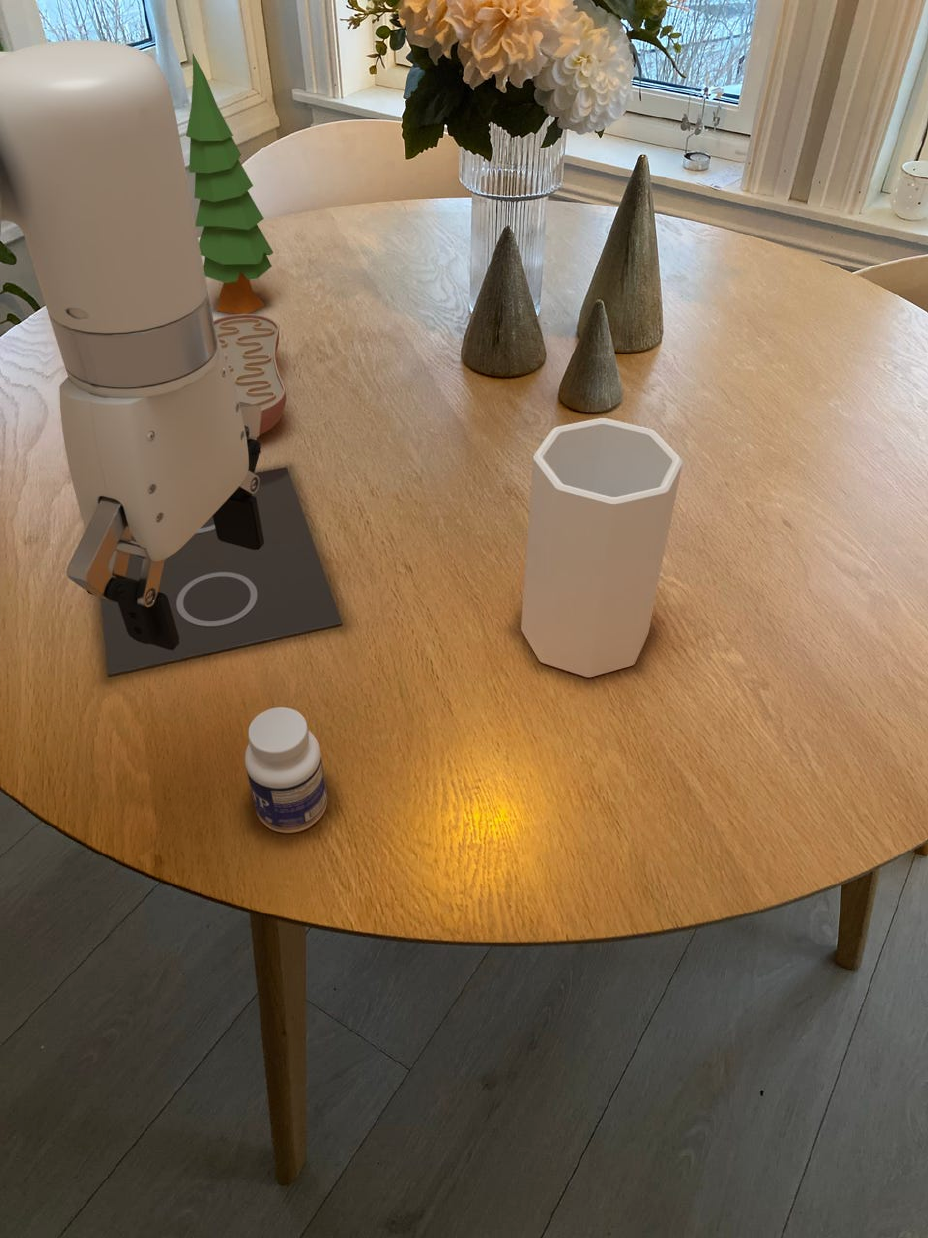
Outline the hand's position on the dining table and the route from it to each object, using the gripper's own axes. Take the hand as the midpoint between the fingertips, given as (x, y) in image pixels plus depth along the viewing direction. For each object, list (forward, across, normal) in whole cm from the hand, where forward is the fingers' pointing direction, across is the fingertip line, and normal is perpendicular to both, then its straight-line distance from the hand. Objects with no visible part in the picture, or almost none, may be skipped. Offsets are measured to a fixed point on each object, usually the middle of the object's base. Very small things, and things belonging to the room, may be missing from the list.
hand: (200, 589), depth 59 cm
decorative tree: (+19, -68, -41) cm, 82 cm away
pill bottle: (+19, +1, +4) cm, 20 cm away
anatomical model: (+19, -47, -28) cm, 58 cm away
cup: (+20, -25, +20) cm, 37 cm away
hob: (+19, -21, -16) cm, 33 cm away
